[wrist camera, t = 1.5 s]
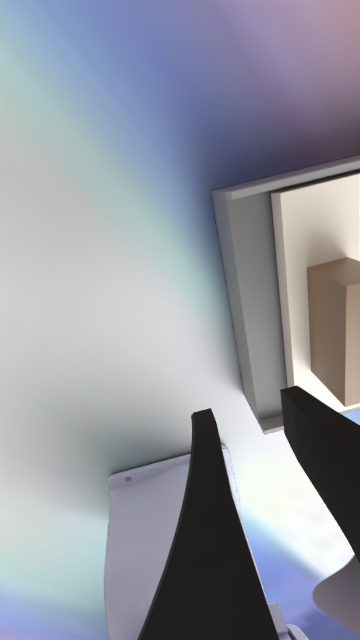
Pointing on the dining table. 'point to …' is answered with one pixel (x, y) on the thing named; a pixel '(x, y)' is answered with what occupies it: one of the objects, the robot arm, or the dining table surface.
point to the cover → (321, 287)
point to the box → (261, 281)
